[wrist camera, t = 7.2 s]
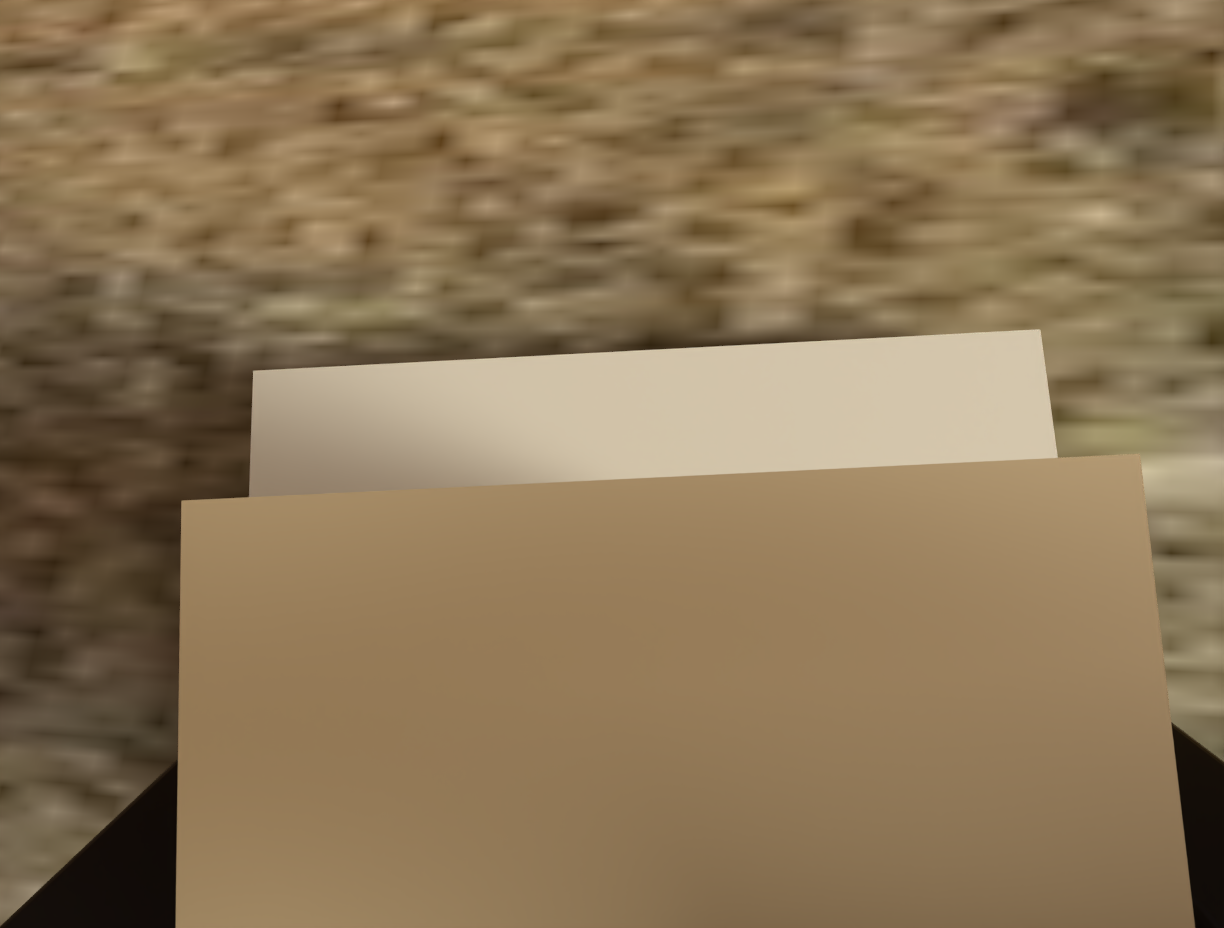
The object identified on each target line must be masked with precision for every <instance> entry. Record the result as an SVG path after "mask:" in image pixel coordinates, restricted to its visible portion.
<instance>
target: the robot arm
mask: <svg viewBox="0 0 1224 928" xmlns="http://www.w3.org/2000/svg"><path fill="white" fill-rule="evenodd" d="M1171 725H1172V734H1173V742H1174V751H1175V759H1176V768H1177V777H1178V785H1179V794H1180V802H1181V811H1182V819H1183V828H1184V836H1185V845H1186V854H1187V862H1188V871H1189V879H1190V888H1191V896H1192V905H1193V914H1194V922H1195V928H1224V762H1223V761H1222V760H1221V759H1219V758H1218V757H1217V756H1215V755H1214V754H1213V753H1211V752H1210V751H1209V750H1207V749H1206V748H1205V747H1203V746H1202V745H1201V744H1200V743H1198V742H1197V741H1196V740H1194V739H1193V738H1192V737H1190V736H1189V735H1188V734H1186V733H1185V732H1184V731H1182V730H1181V729H1180V728H1178V727H1177V726H1176V725H1174V724H1173V723H1172V722H1171ZM177 788H178V759H177V760H176V761H175V762H174V763H173V764H172V765H171V766H170V767H169V768H168V769H166V770H165V771H164V772H163V773H162V774H161V775H160V776H159V777H158V778H157V779H156V780H155V781H154V782H153V783H152V784H151V785H150V786H148V787H147V788H146V789H145V790H144V791H143V792H142V793H141V794H140V795H139V796H138V797H137V798H136V799H135V800H134V801H133V802H132V803H130V804H129V805H128V806H127V807H126V808H125V809H124V810H123V811H122V812H121V813H120V814H119V815H118V816H117V817H116V818H115V819H114V820H112V821H111V822H110V823H109V824H108V825H107V826H106V827H105V828H104V829H103V830H102V831H101V832H100V833H99V834H98V835H97V836H96V837H94V838H93V839H92V840H91V841H90V842H89V843H88V844H87V845H86V846H85V847H84V848H83V849H82V850H81V851H80V852H79V853H77V854H76V855H75V856H74V857H73V858H72V859H71V860H70V861H69V862H68V863H67V864H66V865H65V866H64V867H63V868H62V869H61V870H59V871H58V872H57V873H56V874H55V875H54V876H53V877H52V878H51V879H50V880H49V881H48V882H47V883H46V884H45V885H44V886H43V887H41V888H40V889H39V890H38V891H37V892H36V893H35V894H34V895H33V896H32V897H31V898H30V899H29V900H28V901H27V902H26V903H25V904H23V905H22V906H21V907H20V908H19V909H18V910H17V911H16V912H15V913H14V914H13V915H12V916H11V917H10V918H9V919H8V920H7V921H5V922H4V923H3V924H2V925H1V926H0V928H176V860H177Z"/></svg>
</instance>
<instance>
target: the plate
mask: <svg viewBox="0 0 1224 928" xmlns="http://www.w3.org/2000/svg"><path fill="white" fill-rule="evenodd" d="M1045 458H1058V457H1057V449H1056V442H1055V435H1054V427H1053V420H1052V413H1051V405H1050V398H1049V391H1048V383H1047V376H1046V369H1045V361H1044V354H1043V346H1042V339H1041V332H1040V330H1021V331H1002V332H983V333H964V334H945V335H926V336H907V337H887V338H868V339H849V340H830V341H811V342H792V343H773V344H754V345H735V346H716V347H697V348H678V349H659V350H640V351H621V352H602V353H583V354H564V355H545V356H526V357H507V358H487V359H468V360H449V361H430V362H411V363H392V364H373V365H354V366H335V367H316V368H297V369H278V370H259V371H253V394H252V423H251V452H250V482H249V497H265V496H285V495H306V494H326V493H347V492H367V491H388V490H408V489H429V488H450V487H470V486H491V485H511V484H532V483H552V482H573V481H593V480H614V479H634V478H655V477H675V476H696V475H716V474H737V473H757V472H778V471H798V470H819V469H839V468H860V467H880V466H901V465H921V464H942V463H963V462H983V461H1004V460H1024V459H1045Z"/></svg>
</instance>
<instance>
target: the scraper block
mask: <svg viewBox="0 0 1224 928" xmlns="http://www.w3.org/2000/svg"><path fill="white" fill-rule="evenodd" d="M176 928H1195V922H1194V914H1193V905H1192V896H1191V888H1190V879H1189V871H1188V862H1187V854H1186V845H1185V836H1184V828H1183V819H1182V811H1181V802H1180V794H1179V785H1178V777H1177V768H1176V759H1175V751H1174V742H1173V734H1172V725H1171V717H1170V708H1169V699H1168V691H1167V682H1166V674H1165V665H1164V657H1163V648H1162V639H1161V631H1160V622H1159V614H1158V605H1157V597H1156V588H1155V580H1154V571H1153V562H1152V554H1151V545H1150V537H1149V528H1148V520H1147V511H1146V502H1145V494H1144V485H1143V477H1142V468H1141V460H1140V454H1127V455H1106V456H1086V457H1065V458H1045V459H1024V460H1004V461H983V462H963V463H942V464H921V465H901V466H880V467H860V468H839V469H819V470H798V471H778V472H757V473H737V474H716V475H696V476H675V477H655V478H634V479H614V480H593V481H573V482H552V483H532V484H511V485H491V486H470V487H450V488H429V489H408V490H388V491H367V492H347V493H326V494H306V495H285V496H265V497H244V498H224V499H203V500H183V501H182V502H181V573H180V645H179V717H178V788H177V860H176Z"/></svg>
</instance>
